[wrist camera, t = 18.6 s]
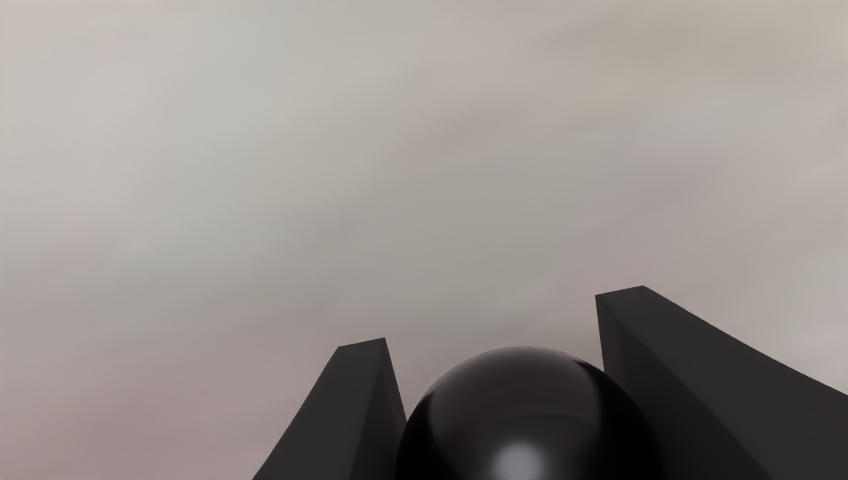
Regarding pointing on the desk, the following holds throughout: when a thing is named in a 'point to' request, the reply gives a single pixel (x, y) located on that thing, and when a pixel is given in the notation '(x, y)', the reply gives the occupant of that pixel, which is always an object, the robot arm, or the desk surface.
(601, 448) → the lever
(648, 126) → the desk surface
